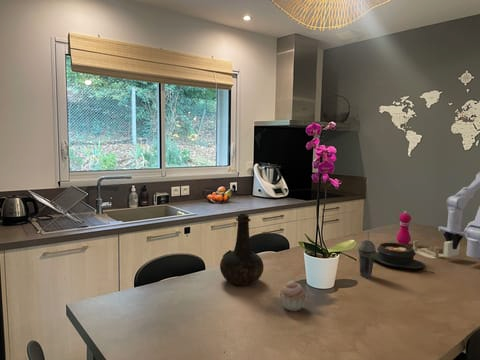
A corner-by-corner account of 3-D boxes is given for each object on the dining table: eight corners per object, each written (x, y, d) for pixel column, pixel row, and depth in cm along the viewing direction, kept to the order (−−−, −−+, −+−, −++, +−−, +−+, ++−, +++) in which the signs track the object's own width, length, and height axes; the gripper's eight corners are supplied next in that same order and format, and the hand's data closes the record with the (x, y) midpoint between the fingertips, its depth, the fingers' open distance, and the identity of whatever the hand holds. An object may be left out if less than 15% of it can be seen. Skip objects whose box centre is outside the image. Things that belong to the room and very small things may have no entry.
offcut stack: (432, 249, 196) (432, 245, 196) (442, 252, 191) (443, 248, 190) (426, 250, 194) (427, 246, 194) (437, 253, 189) (437, 249, 188)
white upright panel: (443, 256, 178) (444, 242, 177) (455, 253, 182) (456, 239, 181) (447, 257, 176) (448, 243, 176) (459, 254, 180) (460, 240, 179)
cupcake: (311, 310, 126) (313, 282, 125) (290, 316, 122) (291, 287, 121) (294, 299, 134) (295, 273, 133) (273, 304, 130) (274, 277, 129)
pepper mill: (411, 248, 200) (414, 212, 198) (397, 247, 202) (400, 211, 200) (408, 244, 208) (410, 210, 205) (394, 243, 209) (397, 209, 207)
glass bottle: (234, 270, 163) (235, 208, 159) (270, 279, 153) (272, 213, 150) (210, 284, 147) (211, 215, 144) (249, 294, 138) (251, 221, 135)
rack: (426, 249, 200) (427, 238, 199) (451, 256, 188) (452, 245, 187) (407, 252, 193) (408, 241, 193) (431, 260, 181) (432, 248, 180)
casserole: (361, 261, 178) (362, 244, 177) (378, 253, 191) (379, 237, 190) (415, 276, 160) (416, 257, 159) (429, 266, 173) (431, 248, 172)
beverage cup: (355, 277, 158) (357, 231, 155) (358, 271, 164) (360, 227, 162) (373, 280, 154) (375, 233, 152) (375, 274, 161) (378, 230, 158)
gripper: (435, 218, 182) (433, 245, 184) (464, 224, 169) (461, 253, 171) (444, 217, 185) (442, 243, 187) (473, 223, 172) (470, 251, 174)
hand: (452, 248), depth 179 cm, fingers closed on white upright panel, 2 cm apart
